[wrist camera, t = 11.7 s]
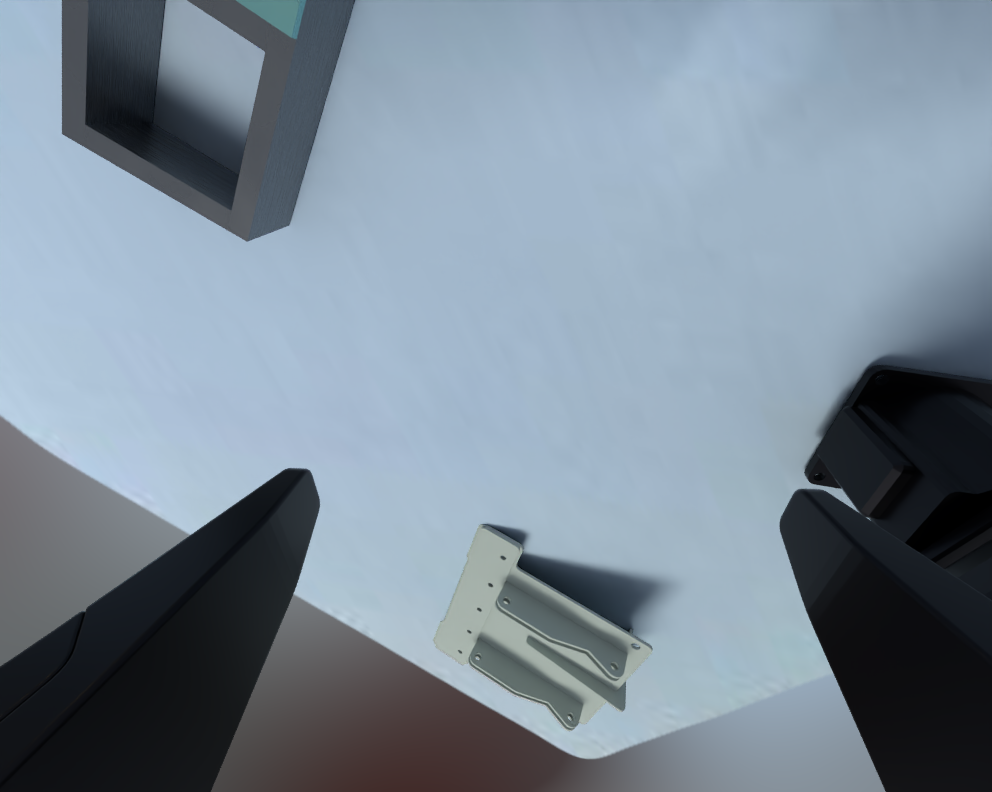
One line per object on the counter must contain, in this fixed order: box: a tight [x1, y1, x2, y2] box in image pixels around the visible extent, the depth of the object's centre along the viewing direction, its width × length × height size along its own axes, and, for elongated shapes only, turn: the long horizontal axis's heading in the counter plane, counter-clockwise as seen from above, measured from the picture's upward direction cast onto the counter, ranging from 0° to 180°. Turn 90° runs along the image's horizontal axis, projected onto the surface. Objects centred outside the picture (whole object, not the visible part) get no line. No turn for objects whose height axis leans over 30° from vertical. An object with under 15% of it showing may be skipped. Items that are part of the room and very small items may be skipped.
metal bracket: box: [433, 524, 652, 731], centre depth 32 cm, size 14×6×15 cm
